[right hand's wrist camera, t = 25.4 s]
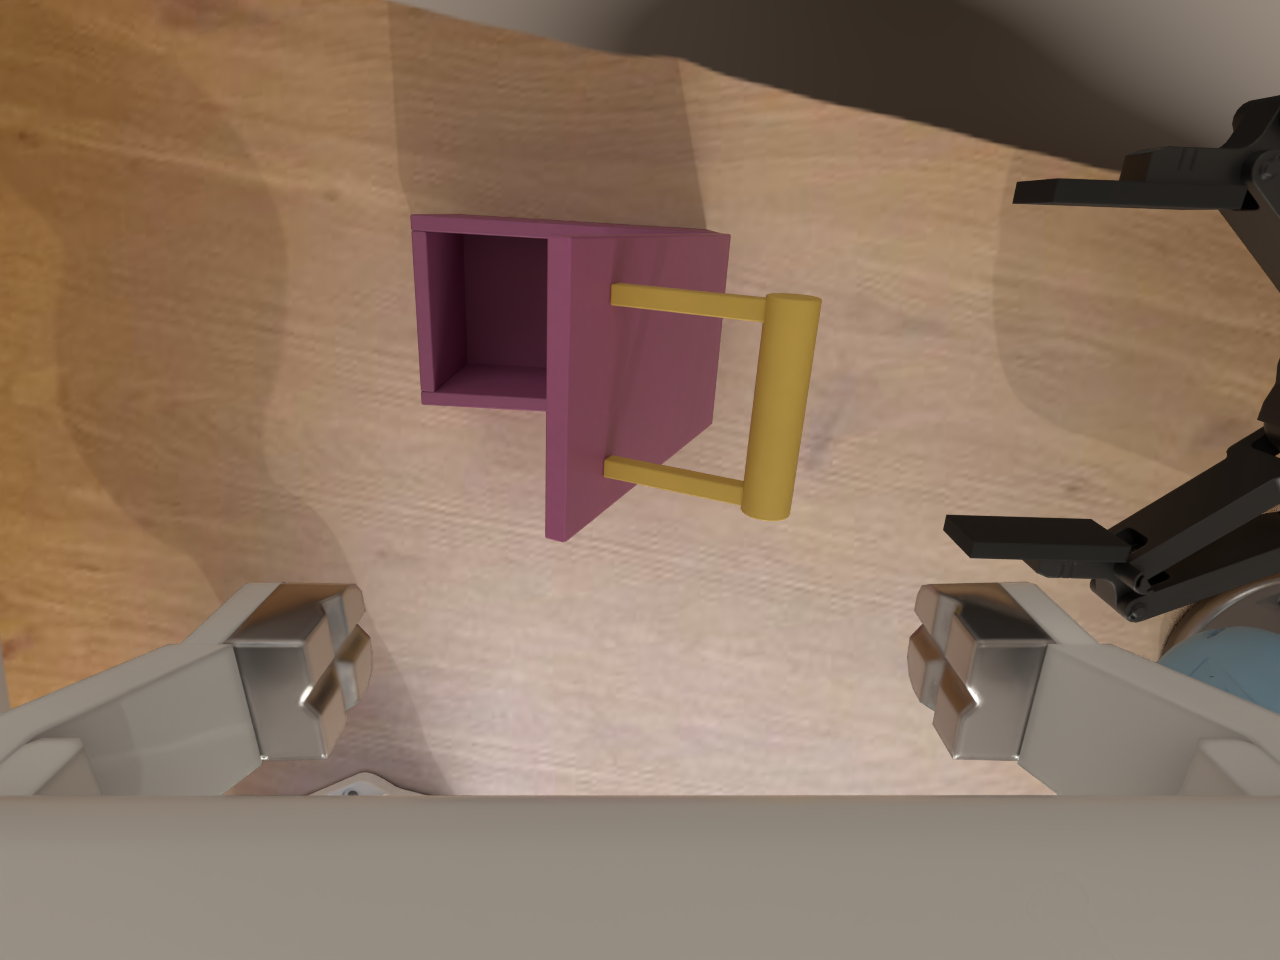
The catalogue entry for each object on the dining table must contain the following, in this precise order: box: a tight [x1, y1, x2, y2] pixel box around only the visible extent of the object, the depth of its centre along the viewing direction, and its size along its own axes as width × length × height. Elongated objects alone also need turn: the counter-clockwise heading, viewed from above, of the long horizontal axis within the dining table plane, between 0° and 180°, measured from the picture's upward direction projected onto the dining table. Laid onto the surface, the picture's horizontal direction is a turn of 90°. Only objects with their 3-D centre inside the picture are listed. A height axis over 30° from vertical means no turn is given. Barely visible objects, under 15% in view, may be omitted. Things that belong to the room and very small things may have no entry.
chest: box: [411, 214, 721, 411], centre depth 41 cm, size 16×10×9 cm, turn 87°
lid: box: [545, 233, 822, 542], centre depth 28 cm, size 17×10×8 cm
